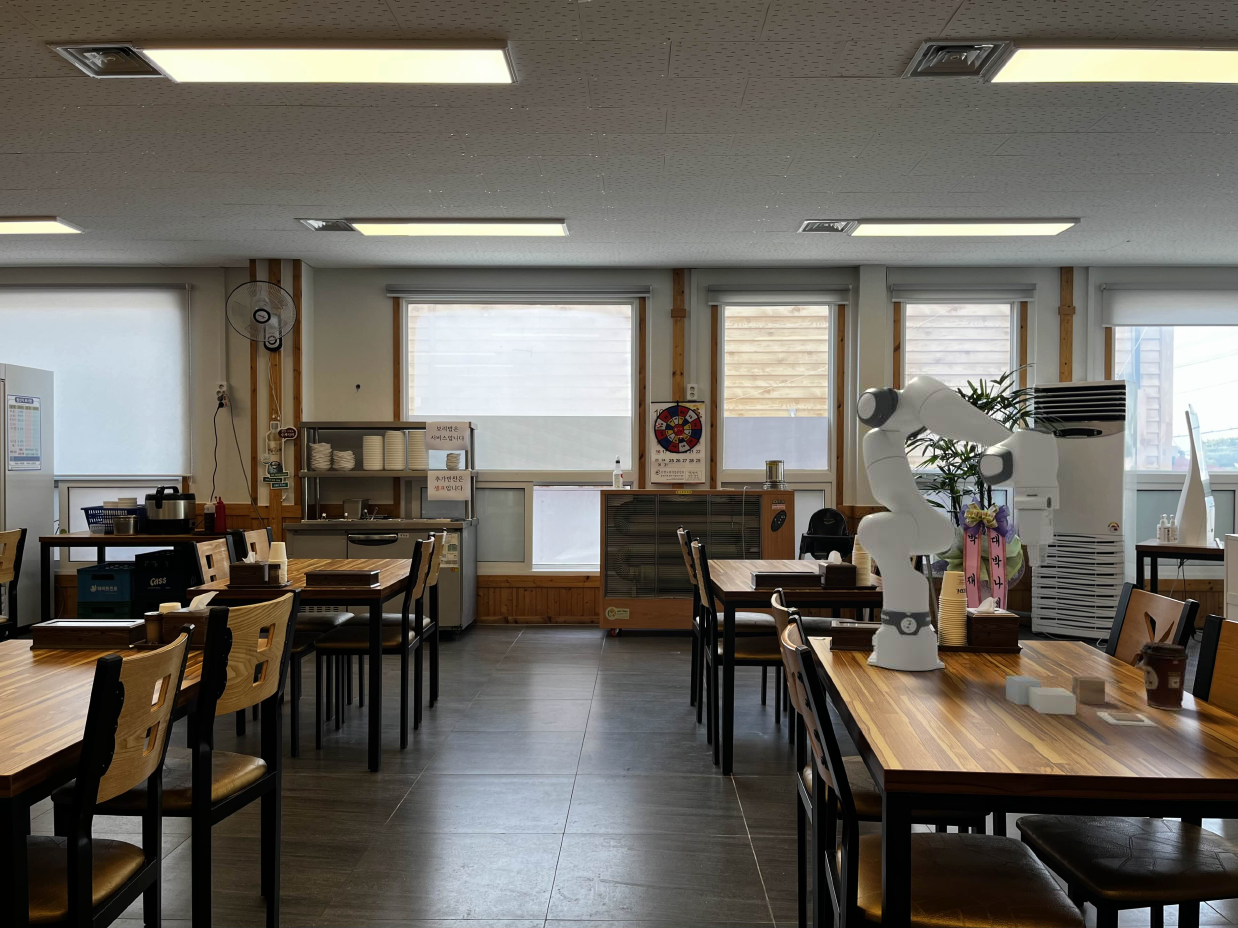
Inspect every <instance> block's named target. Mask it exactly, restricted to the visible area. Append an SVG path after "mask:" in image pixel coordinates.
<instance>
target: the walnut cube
mask: <svg viewBox="0 0 1238 928" xmlns="http://www.w3.org/2000/svg"><path fill="white" fill-rule="evenodd" d="M1071 676H1072V678H1071V679H1072V681H1071V682H1072V686H1071V687H1072V688H1071V689H1072V691H1071V693H1072V694H1074V695H1075V696H1076V702H1077V703H1079V704H1088V705H1106V680H1104V679H1103V678H1101V677H1099V676H1098V675H1081V674H1080V675H1079V674H1072V675H1071Z"/></svg>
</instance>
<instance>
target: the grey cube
mask: <svg viewBox="0 0 1238 928" xmlns="http://www.w3.org/2000/svg"><path fill="white" fill-rule="evenodd" d="M1028 687H1042V680H1041V679H1040V680H1039V679H1037V678H1035V677H1032V676H1030V675H1018V676H1017V675H1014V676H1013V675H1006V676H1005V694H1006V695H1005V700H1007V701H1010V702H1012V703H1014V704H1016V705H1017V706H1018V705H1020V706H1021V705H1022V706H1023V705H1026V706H1027V705H1028ZM1028 706H1029V705H1028Z"/></svg>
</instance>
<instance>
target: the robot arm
mask: <svg viewBox="0 0 1238 928" xmlns="http://www.w3.org/2000/svg"><path fill="white" fill-rule="evenodd" d="M856 414H857V418H858V420H859V421H860V423H862V424H863V425H865V426H867V427H870V428H872V429H871V430H868V432H867V433H866V434H865V435H864V436H863V438H862V457H863V461H864V463H863V464H864V468H865V471H866V475H867V480H868V483H869V486H870V490H871V495H872V497H873V498H874V499H875V501H876V502H878V503H879V504H880V505H882V506H884V507H886V508H887V509H888V510H889V511H881V512H875V513H871V514H868V515H865V516H863V517H862V519H861V520H860V522H859V523H858V526H857V529H856V530H857V533H856V535H857V541H858V543H859V545H860V547H861V548H862V549H863V550H864V552H866V553H867V554H868V555H869V556H870V557H871V558H872V559H873V560H874V562H875V563H876V566H877V567H878V569H879V572H880V576H881V581H882V598H883V601H882V605H883V606H882V608H881V613H880V617H881V619H880V622H881V626H880V627H879V628H878V629H877V631H876V632H875V634H873V636H872V638H871V639H872V640H871V641H872V642H871V645H872V646H873V652H872V653H871V654H870V656H869V657H868V658H867V661H866V665H872V666H876V667H877V666H878V667H883V668H884V669H885V668H886V669H891V670H899V671H914V672H915V671H918V672H919V671H931V670H935V669H936V670H937V669H945V668H946V666H945V665H946V664H945V663H944V662H942V661H941V660H939V659H938V658H939V657H938V654H939V653H938V636H937V635H938V634H937V633H935V631H933V630H932V628H931V624H932V623H931V622H932V621H931V620H932V616H931V615H932V614H931V611H930V606H929V605H930V604H929V603H930V602H929V601H930V597H929V595H930V584H929V581H928V578H927V577H926V576H925V575H924V574H923V573H921V572H920V571H918V570H916V569H915V568H914V567H913V564H912V561H911V556H930V555H936V554H940V553H944V552H946V551H948V550H949V549H951V547H952V545H953V543H954V541H955V537H956V533H955V532H956V531H955V527H954V524H953V522H952V521H951V518H949V517H948V516H946V515H945V514H943V513H941V512H940V511H938V510H937V509H935V507H933V506H932V505H931V504H930V502H929V501H928V500H927V499H926V498H925V497H924V495H923V494H922V493H921V491H920V489H919V487H918V486H917V484H916V483H917V482H916V481H915V478H914V474H913V472H912V469H911V464H910V462H909V458H908V456H907V452H906V450H905V442H906V441H908V442H912V441H913V442H914V441H916V440H917V438H918V437H919V436H921V435H923V434H924V433H927V431H929V432H931V433H933V434H934V435H936V436H937V437H940V438H942V439H947V440H953V441H961V442H968V443H969V442H970V443H975V444H979V445H981V446H984V447H986V448H984V450H983V451H982V452H981V453H980V455H979V458H978V460H977V461H978V462H977V470H978V474H979V476H980V478H981V480H982V481H983V482H984V483H985V484H986V485H988V486H992V487H996V488H1013V491H1014V493H1013V494H1014V500H1013V508H1014V510H1017V512H1016V513H1017V526H1018V527H1017V528H1018V535H1019V536H1018V537H1019V540H1020V543H1021V545H1024V546H1026V550H1027V556H1028V565H1029V566H1030V567H1033V568H1035V567H1039V566H1040V565H1046V564H1047V563H1048V560H1047V557H1048V551H1049V548H1048V546H1049V544H1052V543H1053V542H1054V524H1053V522H1054V520H1053V517H1054V510H1060V486H1059V482H1058V478H1057V474H1058V469H1059V450H1058V445H1057V439H1056V436H1055V435H1054V432H1053V431H1051V430H1050V429H1047V428H1041V427H1030V426H1029V427H1027V426H1024V427H1023V426H1022V427H1019V428H1017V429H1015V431H1014V430H1011V429H1010V428H1009V427H1007V426H1006V425H1004V424H1003V423H1001V422H999V421H998V420H996V419H995V418H993V417H991V416H990V415H988V414H986V413H985V412H984V411H983V410H981V409H979V408H978V407H976V406H974V405H973V404H971V402H969V401H968V400H966V399H965V398H964V397H962V396H961V395H960V394H958V393H957V392H956V391H954V390H953V389H952V388H951V387H949V386H948V385H946V384H945V383H943V382H942V381H940V380H938V379H936V378H934V377H932V376H929V375H919V376H916V377H914V378H913V379H911V380H910V381H909V382H907V384H906V386H905V387H904V388H903V389H894V388H893V387H891V386H890V387H888V386H887V387H874V388H873V387H872V388H868V389H866V390H865V391H863V392H862V393H861V395H860V396H859V398H858V400H857V404H856Z"/></svg>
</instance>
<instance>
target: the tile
mask: <svg viewBox="0 0 1238 928" xmlns="http://www.w3.org/2000/svg"><path fill="white" fill-rule="evenodd" d="M1096 715H1098V716H1099V717H1100V718H1101V719H1103V720H1104V721H1106V722H1107V723H1108V724H1110V725H1117V726H1118V725H1121V726H1135V727H1136V726H1139V727H1157V724H1156V723H1154V722H1153V721H1151V720H1150V719H1148V718H1147V717H1145V716H1144V715H1142V714H1140V713H1121V712H1107V711H1106V712H1102V711H1097V712H1096Z"/></svg>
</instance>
